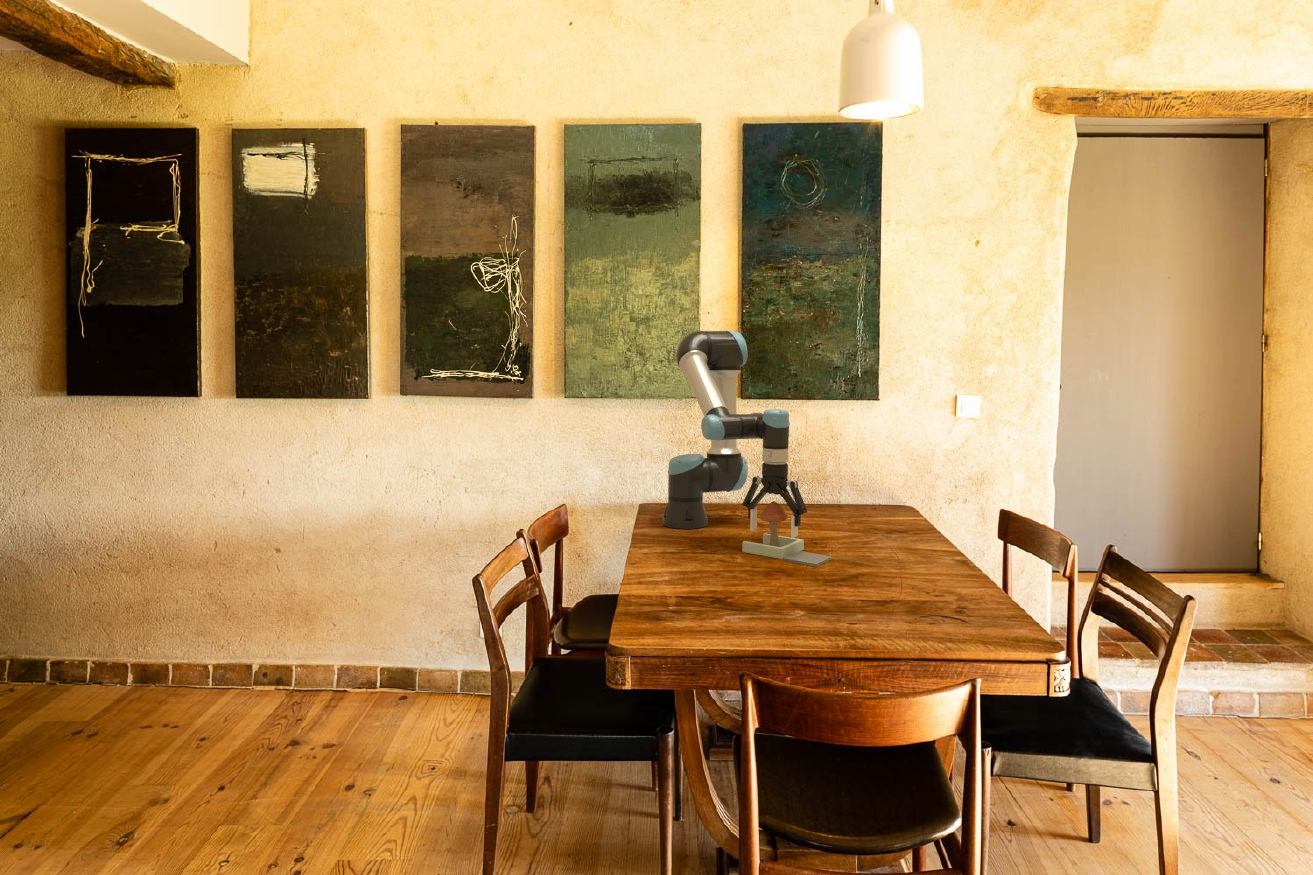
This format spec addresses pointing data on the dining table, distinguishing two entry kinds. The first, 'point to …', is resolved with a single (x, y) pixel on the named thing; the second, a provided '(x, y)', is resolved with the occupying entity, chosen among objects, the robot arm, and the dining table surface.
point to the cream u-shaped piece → (774, 547)
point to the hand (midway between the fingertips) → (773, 533)
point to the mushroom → (773, 520)
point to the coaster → (808, 558)
